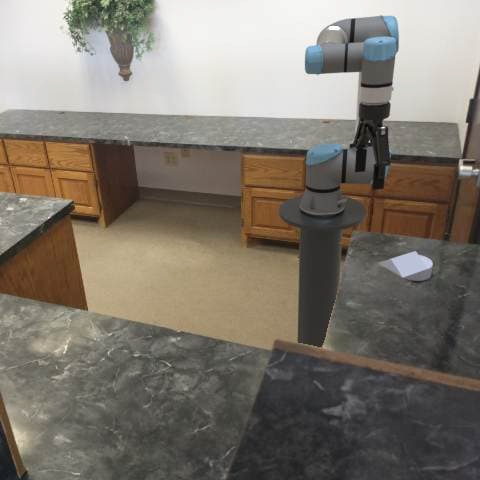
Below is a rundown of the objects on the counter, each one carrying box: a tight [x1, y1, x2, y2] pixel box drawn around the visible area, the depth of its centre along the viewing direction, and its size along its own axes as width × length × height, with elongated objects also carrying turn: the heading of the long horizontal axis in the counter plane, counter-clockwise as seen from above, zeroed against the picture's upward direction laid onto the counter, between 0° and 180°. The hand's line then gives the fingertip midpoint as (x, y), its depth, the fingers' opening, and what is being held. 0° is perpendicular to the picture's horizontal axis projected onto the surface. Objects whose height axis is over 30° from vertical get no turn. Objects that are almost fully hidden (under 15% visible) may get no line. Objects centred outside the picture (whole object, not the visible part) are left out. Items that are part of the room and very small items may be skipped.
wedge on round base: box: [377, 250, 434, 282], centre depth 138 cm, size 9×7×13 cm
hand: (368, 179), depth 140 cm, fingers open, 13 cm apart
